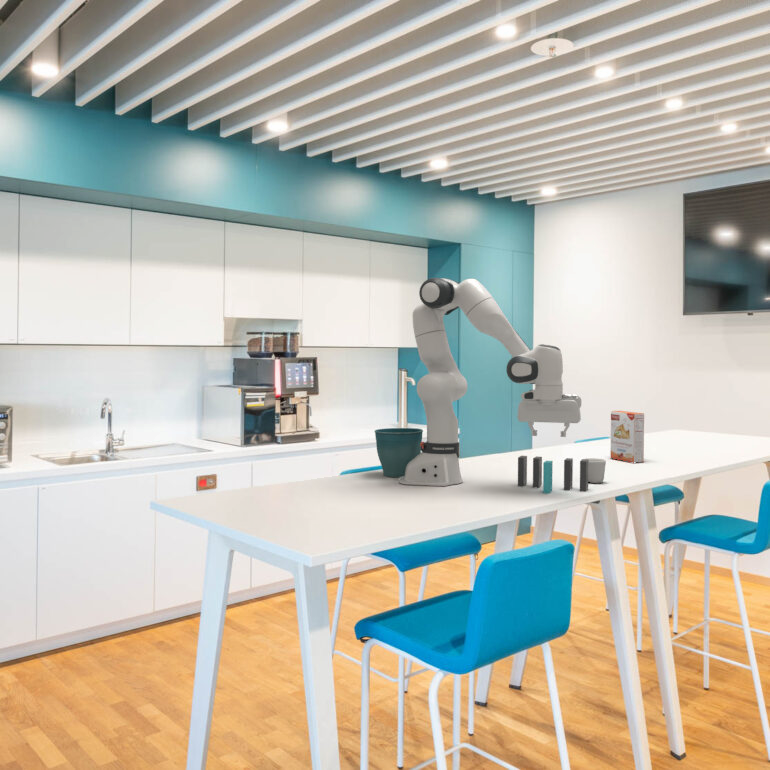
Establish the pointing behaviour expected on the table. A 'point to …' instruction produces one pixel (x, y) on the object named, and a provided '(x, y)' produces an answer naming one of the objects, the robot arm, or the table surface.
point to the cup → (596, 470)
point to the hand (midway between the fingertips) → (548, 436)
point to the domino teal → (547, 476)
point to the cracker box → (627, 436)
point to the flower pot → (397, 449)
